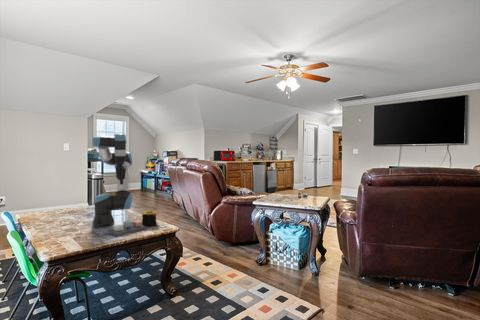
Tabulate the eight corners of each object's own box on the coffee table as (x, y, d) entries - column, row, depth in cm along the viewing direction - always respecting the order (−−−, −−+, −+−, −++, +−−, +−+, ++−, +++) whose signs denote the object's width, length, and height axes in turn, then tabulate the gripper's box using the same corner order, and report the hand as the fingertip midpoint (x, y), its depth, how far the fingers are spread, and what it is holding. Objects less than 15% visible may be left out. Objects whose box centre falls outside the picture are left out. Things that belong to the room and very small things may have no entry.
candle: (141, 227, 203) (141, 214, 202) (142, 223, 213) (142, 211, 212) (156, 226, 206) (156, 213, 205) (156, 223, 215) (156, 210, 215)
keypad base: (108, 232, 189) (108, 229, 189) (138, 226, 206) (138, 223, 206) (116, 236, 182) (116, 233, 182) (146, 229, 199) (146, 226, 199)
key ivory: (113, 232, 188) (113, 225, 188) (120, 231, 192) (120, 224, 192) (116, 234, 185) (116, 227, 185) (123, 232, 189) (123, 225, 189)
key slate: (123, 228, 194) (123, 221, 193) (129, 227, 197) (129, 220, 197) (126, 229, 191) (126, 222, 191) (132, 228, 194) (132, 221, 194)
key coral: (132, 228, 199) (132, 221, 199) (138, 227, 203) (138, 220, 202) (136, 229, 196) (136, 222, 196) (141, 228, 200) (141, 221, 199)
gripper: (110, 155, 195) (111, 188, 197) (119, 156, 187) (120, 190, 188) (121, 155, 201) (121, 187, 202) (130, 155, 192) (130, 189, 194)
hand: (120, 188), depth 195 cm, fingers closed
